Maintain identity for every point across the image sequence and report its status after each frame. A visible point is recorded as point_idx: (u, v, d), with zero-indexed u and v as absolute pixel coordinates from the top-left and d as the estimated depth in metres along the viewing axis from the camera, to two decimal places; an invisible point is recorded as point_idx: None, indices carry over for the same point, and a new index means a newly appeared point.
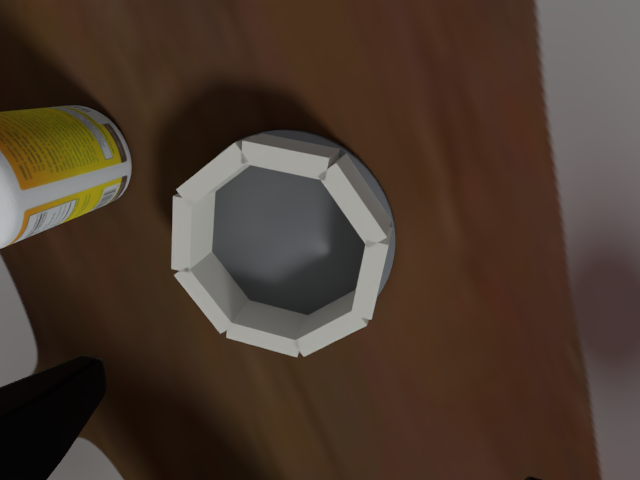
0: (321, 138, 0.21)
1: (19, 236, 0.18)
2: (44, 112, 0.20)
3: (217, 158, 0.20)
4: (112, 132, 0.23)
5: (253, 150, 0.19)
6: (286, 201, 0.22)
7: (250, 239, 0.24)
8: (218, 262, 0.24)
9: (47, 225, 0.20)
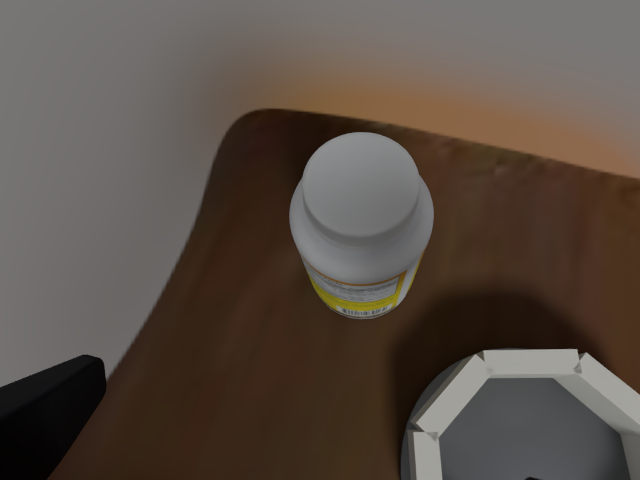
0: None
1: (370, 284, 0.16)
2: None
3: (549, 351, 0.19)
4: None
5: (593, 367, 0.18)
6: (551, 436, 0.20)
7: (484, 450, 0.20)
8: None
9: (369, 294, 0.18)
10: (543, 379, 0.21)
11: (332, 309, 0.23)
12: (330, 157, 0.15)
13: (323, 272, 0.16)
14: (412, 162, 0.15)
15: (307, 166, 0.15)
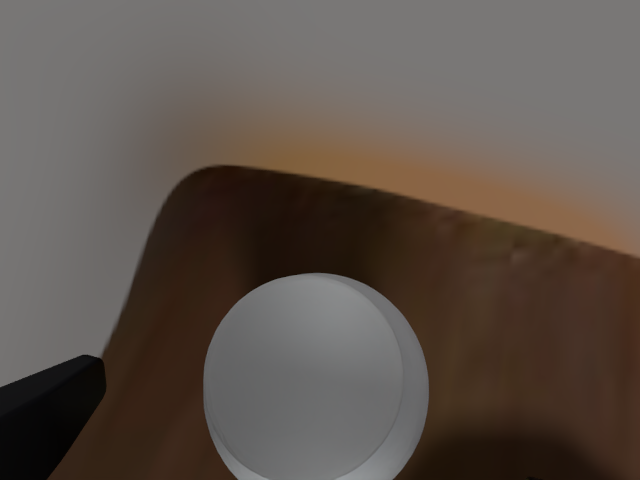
0: None
1: None
2: None
3: None
4: None
5: None
6: None
7: None
8: None
9: None
10: None
11: None
12: (254, 322, 0.09)
13: None
14: (392, 337, 0.09)
15: (215, 337, 0.09)
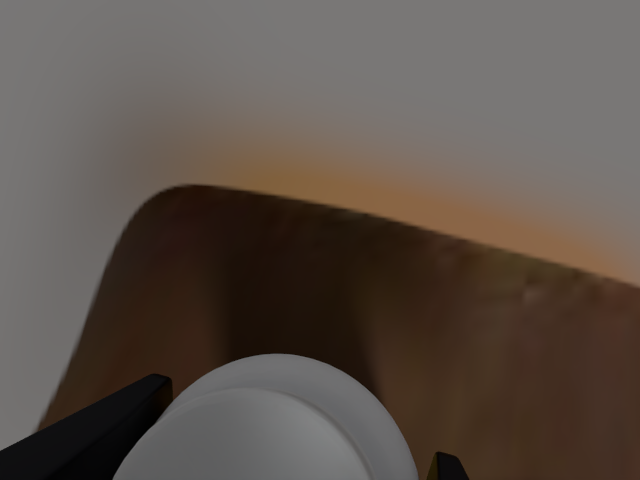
0: None
1: None
2: None
3: None
4: None
5: None
6: None
7: None
8: None
9: None
10: None
11: None
12: (170, 464, 0.06)
13: None
14: None
15: None
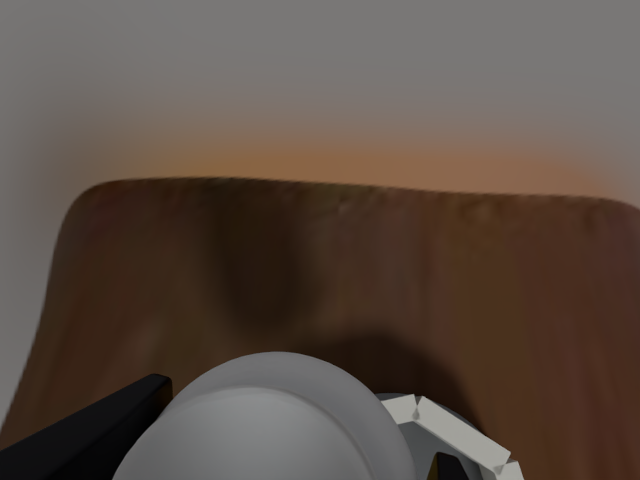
0: (475, 428, 0.20)
1: None
2: None
3: (387, 401, 0.18)
4: None
5: (430, 410, 0.18)
6: None
7: None
8: None
9: None
10: None
11: None
12: (170, 461, 0.06)
13: None
14: None
15: None
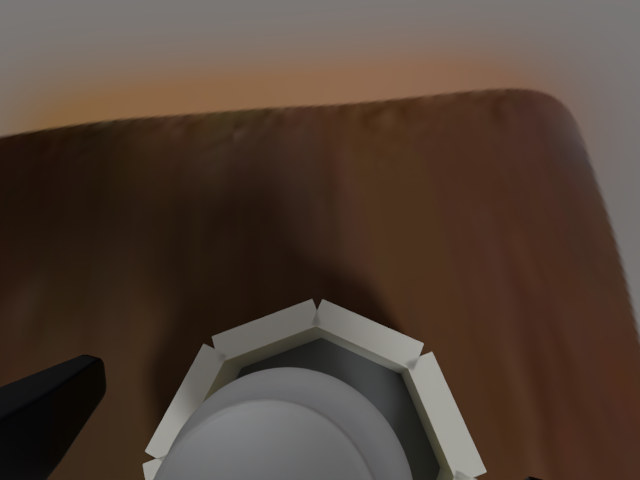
0: None
1: None
2: None
3: (283, 311, 0.16)
4: None
5: (332, 313, 0.16)
6: None
7: None
8: None
9: None
10: (312, 342, 0.18)
11: None
12: (203, 464, 0.07)
13: None
14: None
15: None
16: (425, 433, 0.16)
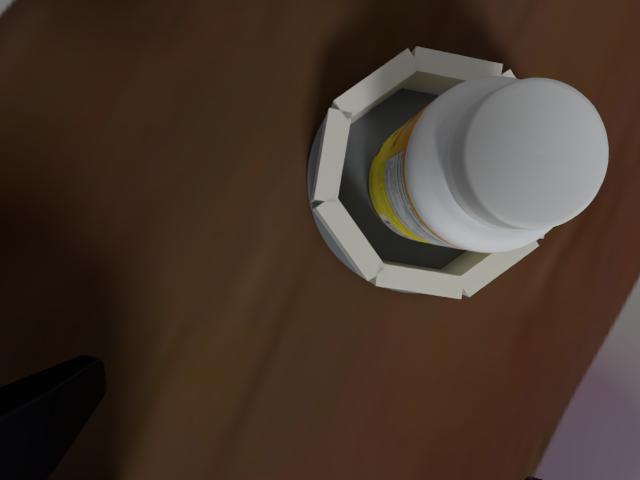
0: None
1: (452, 245, 0.14)
2: None
3: (477, 60, 0.19)
4: None
5: None
6: None
7: None
8: None
9: (436, 242, 0.16)
10: None
11: (372, 208, 0.21)
12: (526, 102, 0.11)
13: (417, 208, 0.14)
14: (605, 167, 0.11)
15: (494, 97, 0.11)
16: None
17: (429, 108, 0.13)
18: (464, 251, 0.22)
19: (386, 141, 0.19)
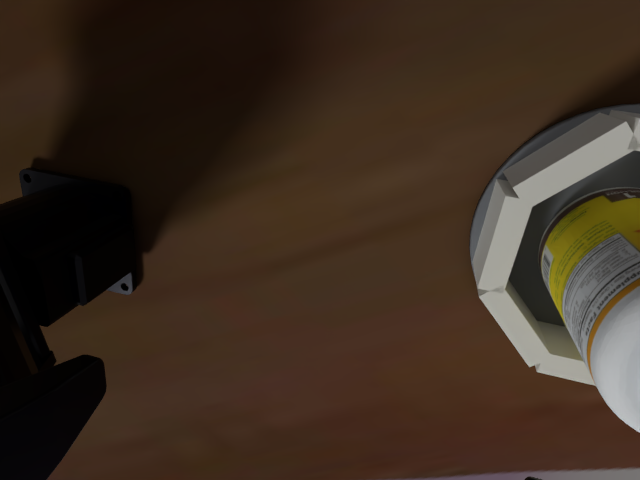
0: None
1: (590, 373, 0.13)
2: None
3: None
4: None
5: None
6: None
7: None
8: None
9: (575, 341, 0.14)
10: None
11: (546, 231, 0.18)
12: None
13: (604, 328, 0.12)
14: None
15: None
16: None
17: None
18: None
19: (634, 201, 0.15)
